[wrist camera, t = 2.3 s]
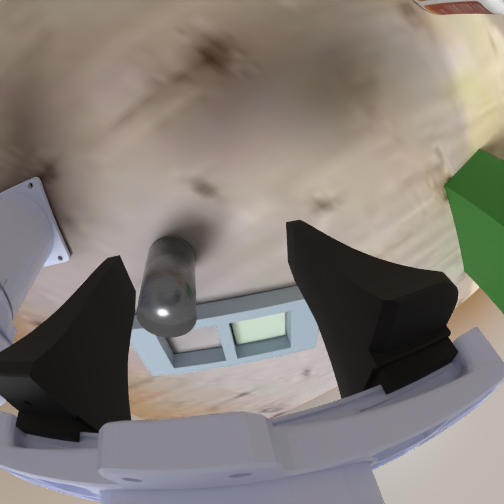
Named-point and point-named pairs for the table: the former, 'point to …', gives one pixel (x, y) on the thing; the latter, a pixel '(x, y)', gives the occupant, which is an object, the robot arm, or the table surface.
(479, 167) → the hardback book
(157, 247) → the peg
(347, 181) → the table surface
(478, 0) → the pill bottle
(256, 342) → the grey double-hole frame
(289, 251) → the robot arm
